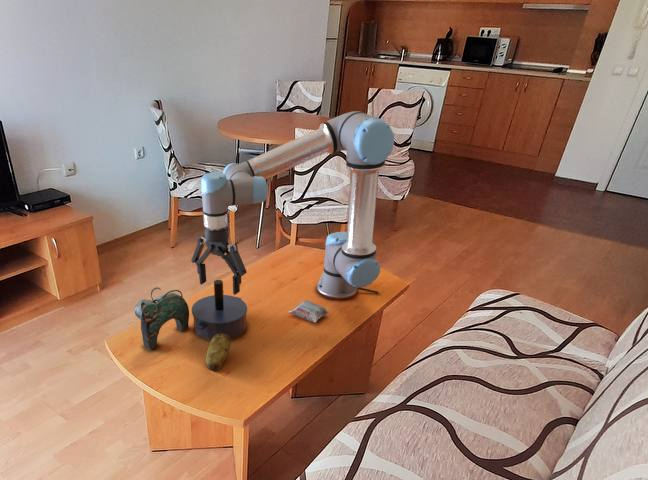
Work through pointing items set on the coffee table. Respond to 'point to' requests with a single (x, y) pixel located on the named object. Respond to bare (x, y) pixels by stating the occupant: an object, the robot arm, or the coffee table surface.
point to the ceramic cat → (161, 315)
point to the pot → (220, 328)
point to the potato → (217, 351)
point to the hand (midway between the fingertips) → (219, 287)
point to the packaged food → (309, 311)
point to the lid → (219, 307)
